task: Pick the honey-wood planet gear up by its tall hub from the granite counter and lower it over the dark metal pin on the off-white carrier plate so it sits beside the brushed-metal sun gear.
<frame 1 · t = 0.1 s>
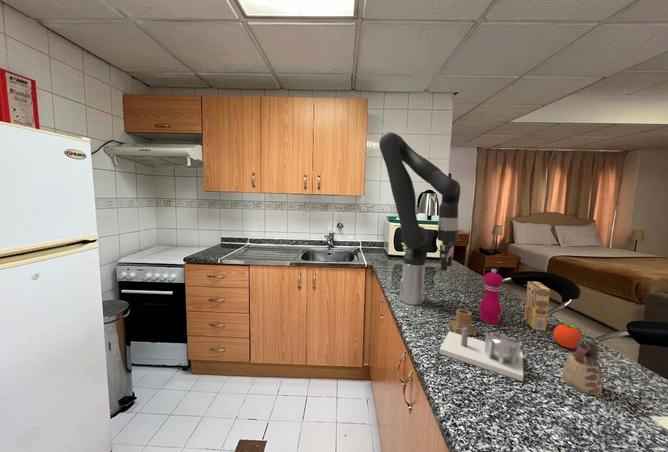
hand: (446, 268, 109), 17 cm above the worktop, tool pointing down, fingers open, 8 cm apart
clementine: (567, 347, 85), on the worktop
sun gear: (500, 361, 75), resting on carrier plate
candy box: (534, 325, 99), on the worktop
figurine: (581, 385, 67), on the worktop
pepper mill: (489, 320, 102), on the worktop
planet gear: (462, 329, 93), on the worktop
carrier plate: (480, 355, 78), on the worktop
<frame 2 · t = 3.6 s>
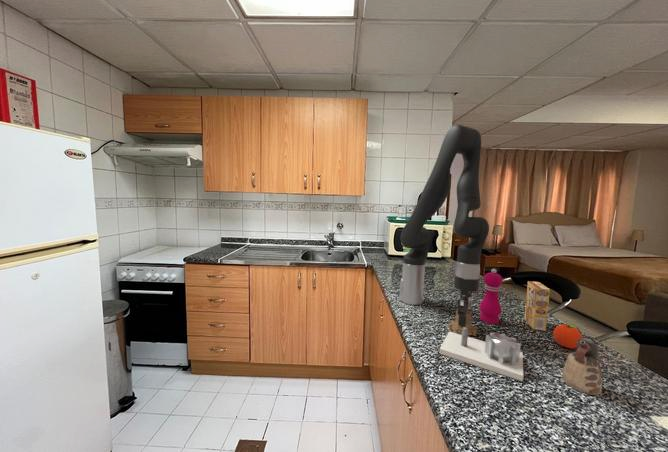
hand: (463, 322, 93), 3 cm above the worktop, tool pointing down, fingers closed on planet gear, 4 cm apart
planet gear: (462, 329, 93), on the worktop, touching gripper
everything else where it was.
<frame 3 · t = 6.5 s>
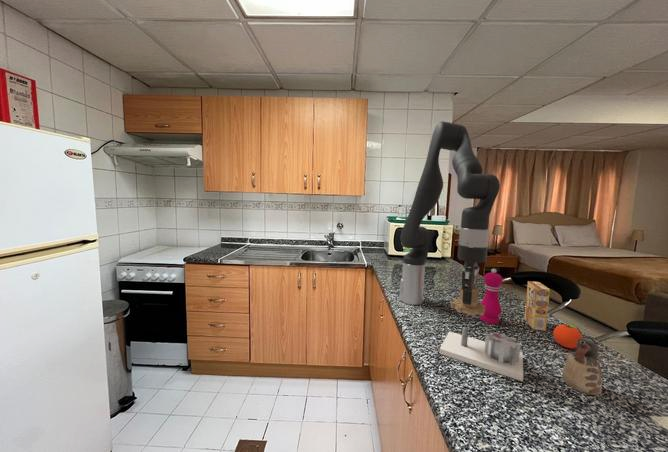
hand: (468, 300, 79), 15 cm above the worktop, tool pointing down, fingers closed on planet gear, 4 cm apart
planet gear: (467, 309, 79), point 13 cm above the worktop, touching gripper
everything else where it was.
when the fingers open (5 cm above the worktop, at t = 9.8 s): planet gear drops 1 cm, resting on carrier plate.
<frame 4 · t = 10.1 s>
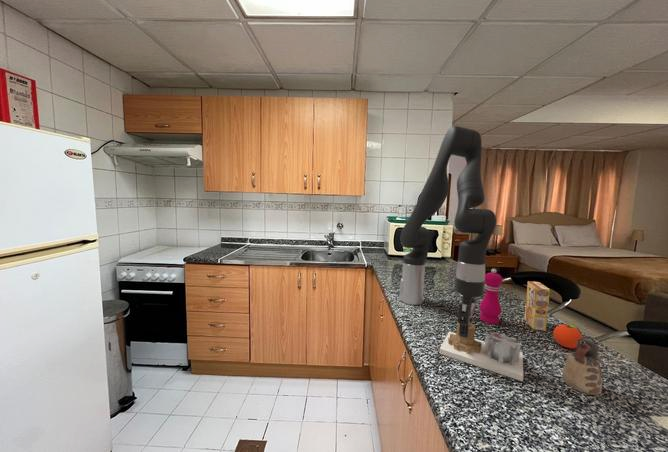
hand: (465, 331, 80), 6 cm above the worktop, tool pointing down, fingers open, 7 cm apart
planet gear: (464, 345, 80), point 1 cm above the worktop, touching carrier plate
everything else where it was.
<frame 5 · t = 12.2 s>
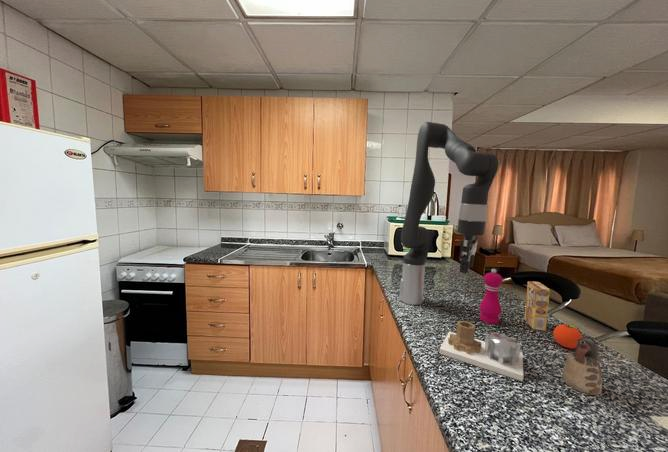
hand: (466, 269, 85), 23 cm above the worktop, tool pointing down, fingers open, 8 cm apart
nothing on the worktop moved.
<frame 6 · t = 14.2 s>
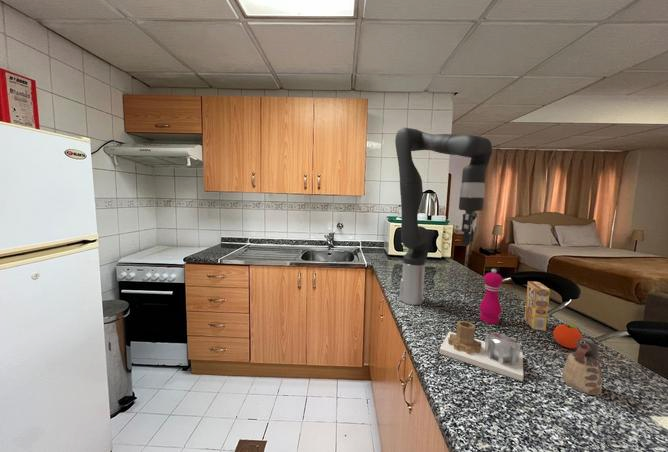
hand: (467, 243, 93), 30 cm above the worktop, tool pointing down, fingers open, 8 cm apart
nothing on the worktop moved.
at the end: planet gear 0.0 cm from the target spot on the carrier plate, point 1.5 cm above the carrier plate's base; planet gear tilted 0°; the gripper is holding nothing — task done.
